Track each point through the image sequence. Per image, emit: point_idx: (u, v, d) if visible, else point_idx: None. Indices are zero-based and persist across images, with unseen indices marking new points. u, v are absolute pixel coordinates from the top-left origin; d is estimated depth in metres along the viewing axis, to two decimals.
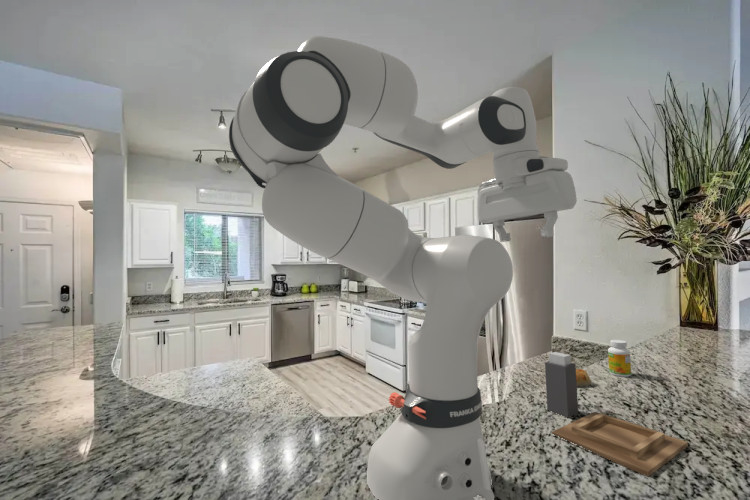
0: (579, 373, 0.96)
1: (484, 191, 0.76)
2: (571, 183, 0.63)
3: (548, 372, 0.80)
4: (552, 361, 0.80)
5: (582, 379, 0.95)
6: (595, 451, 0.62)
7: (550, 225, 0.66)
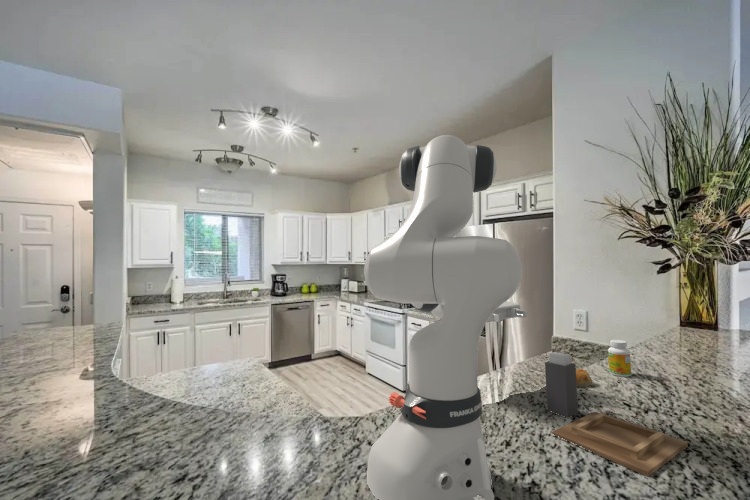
0: (580, 373, 0.96)
1: None
2: None
3: (548, 372, 0.80)
4: (552, 361, 0.80)
5: (584, 379, 0.95)
6: (595, 451, 0.62)
7: None
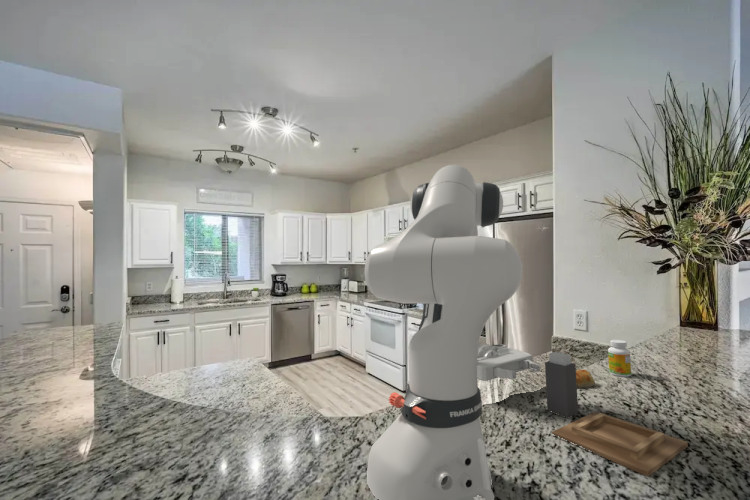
0: (583, 374, 0.96)
1: None
2: None
3: (548, 372, 0.80)
4: (552, 361, 0.80)
5: (586, 380, 0.94)
6: (595, 451, 0.62)
7: None
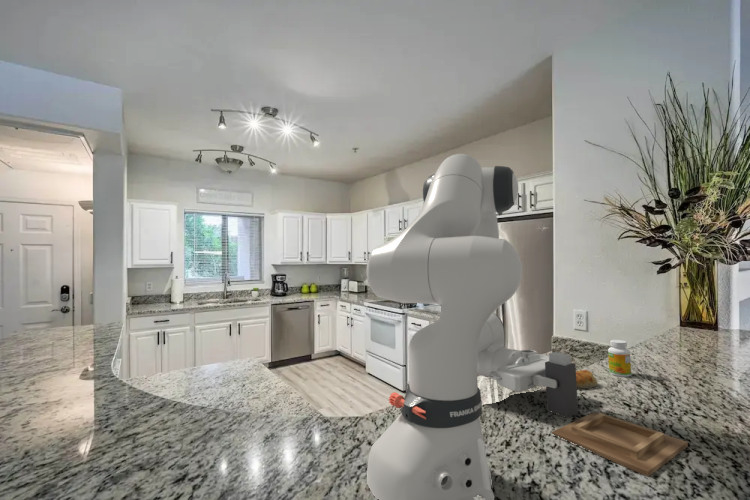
0: (585, 374, 0.95)
1: (501, 367, 0.85)
2: None
3: (548, 372, 0.80)
4: (552, 361, 0.80)
5: (589, 380, 0.94)
6: (595, 451, 0.62)
7: None
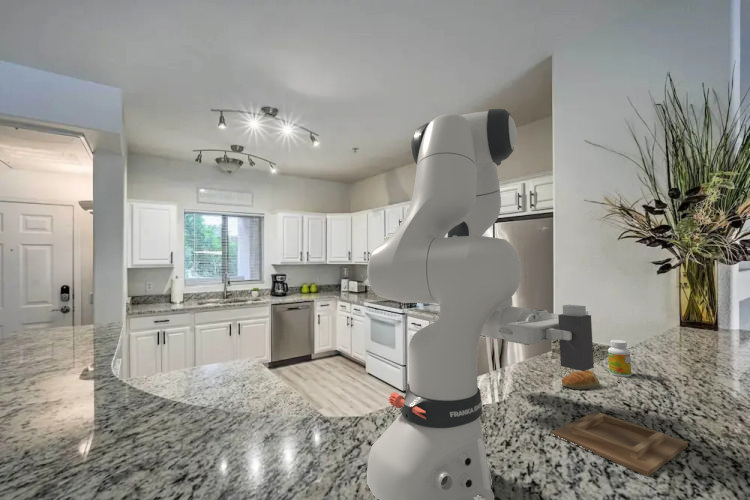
0: (587, 375, 0.95)
1: (511, 322, 0.80)
2: None
3: (562, 325, 0.76)
4: (566, 313, 0.76)
5: (591, 381, 0.93)
6: (595, 451, 0.62)
7: None
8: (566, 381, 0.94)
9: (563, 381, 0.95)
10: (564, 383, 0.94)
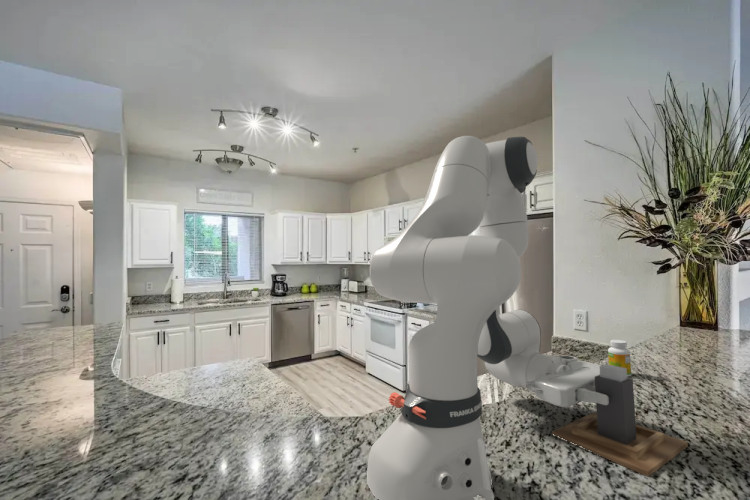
0: None
1: (540, 377, 0.72)
2: None
3: (599, 389, 0.67)
4: (604, 375, 0.67)
5: None
6: (595, 451, 0.62)
7: None
8: None
9: None
10: None
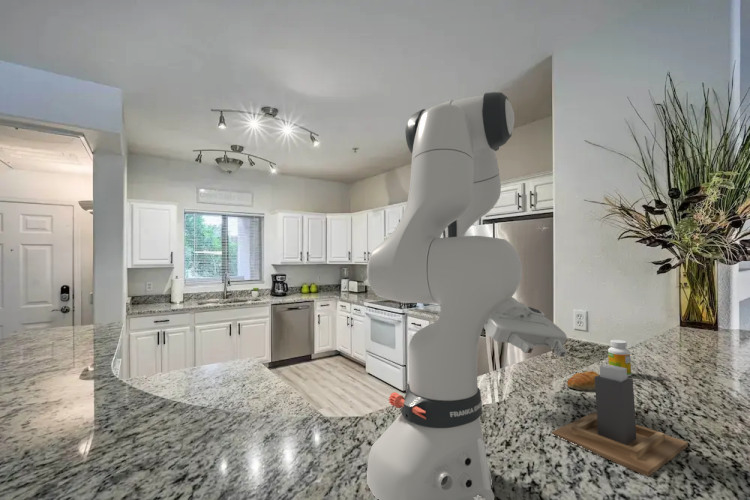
0: (593, 376, 0.94)
1: (494, 313, 0.84)
2: None
3: (599, 389, 0.67)
4: (604, 375, 0.67)
5: None
6: (595, 451, 0.62)
7: None
8: (572, 382, 0.93)
9: (569, 383, 0.94)
10: (570, 384, 0.93)
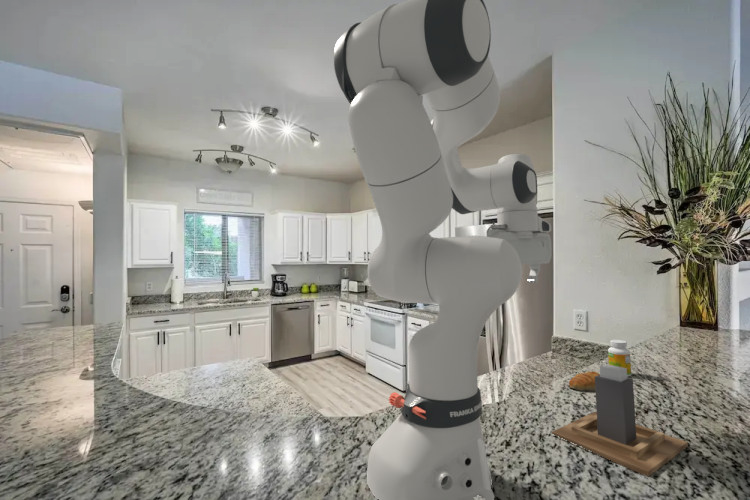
0: None
1: (504, 234, 0.77)
2: None
3: (599, 389, 0.67)
4: (604, 375, 0.67)
5: None
6: (595, 451, 0.62)
7: None
8: (574, 383, 0.93)
9: (571, 383, 0.93)
10: (572, 385, 0.93)
